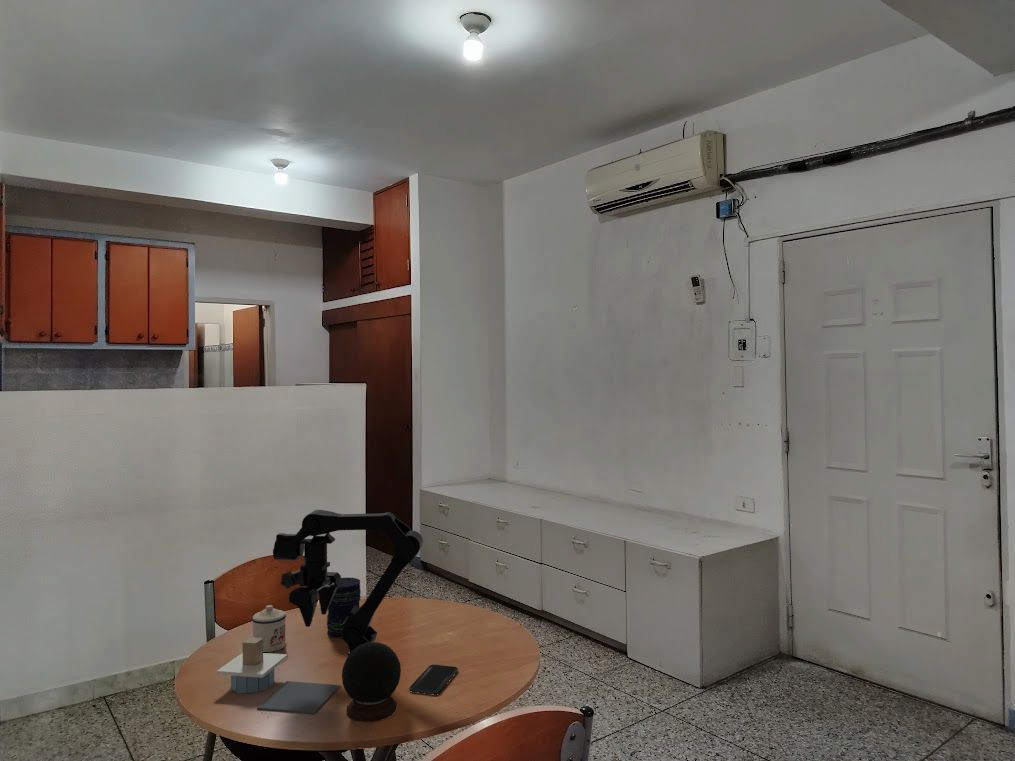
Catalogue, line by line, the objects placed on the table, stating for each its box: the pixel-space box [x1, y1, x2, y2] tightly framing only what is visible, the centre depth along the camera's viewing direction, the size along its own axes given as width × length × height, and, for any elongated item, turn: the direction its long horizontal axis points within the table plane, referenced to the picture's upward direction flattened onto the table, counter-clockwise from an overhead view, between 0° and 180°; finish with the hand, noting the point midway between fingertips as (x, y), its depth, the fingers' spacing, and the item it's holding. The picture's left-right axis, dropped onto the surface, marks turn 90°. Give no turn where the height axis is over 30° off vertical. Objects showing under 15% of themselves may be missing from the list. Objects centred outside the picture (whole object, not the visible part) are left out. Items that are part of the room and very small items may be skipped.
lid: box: [216, 636, 288, 678], centre depth 169 cm, size 12×12×6 cm
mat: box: [256, 680, 341, 715], centre depth 162 cm, size 14×14×1 cm
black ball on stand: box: [341, 641, 402, 723], centre depth 155 cm, size 13×13×15 cm
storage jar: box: [326, 577, 362, 639], centre depth 204 cm, size 10×10×15 cm
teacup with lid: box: [251, 604, 287, 653], centre depth 194 cm, size 12×9×12 cm
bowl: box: [230, 668, 275, 694], centre depth 169 cm, size 10×10×4 cm
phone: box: [409, 664, 459, 696], centre depth 170 cm, size 8×1×15 cm
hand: (316, 620), depth 177 cm, fingers open, 9 cm apart
